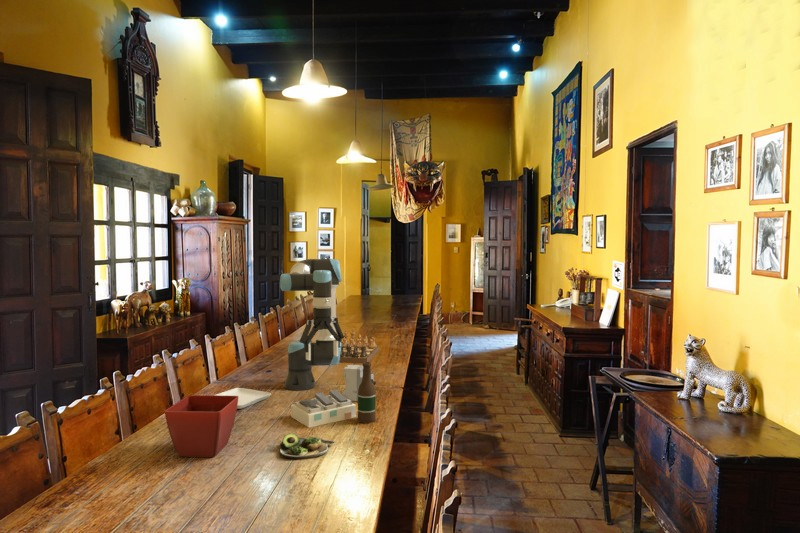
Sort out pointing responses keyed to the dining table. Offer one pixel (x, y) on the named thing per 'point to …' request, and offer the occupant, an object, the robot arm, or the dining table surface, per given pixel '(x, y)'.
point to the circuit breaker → (353, 381)
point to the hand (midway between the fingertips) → (322, 357)
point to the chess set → (357, 349)
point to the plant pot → (201, 424)
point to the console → (322, 412)
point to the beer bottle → (366, 396)
